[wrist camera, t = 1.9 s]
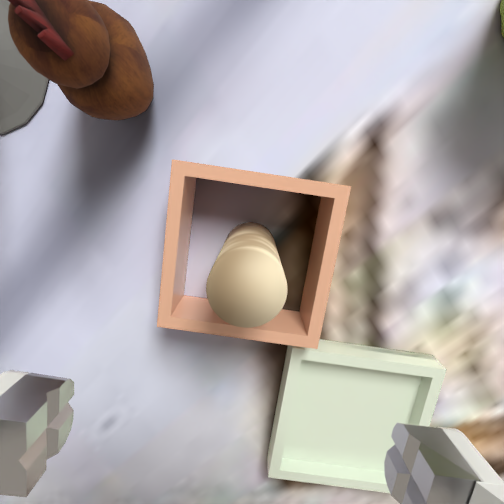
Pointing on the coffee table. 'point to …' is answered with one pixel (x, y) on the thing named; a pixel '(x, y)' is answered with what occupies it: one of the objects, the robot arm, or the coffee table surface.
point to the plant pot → (502, 16)
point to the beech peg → (247, 278)
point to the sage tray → (347, 411)
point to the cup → (16, 81)
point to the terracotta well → (198, 309)
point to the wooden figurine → (84, 54)
